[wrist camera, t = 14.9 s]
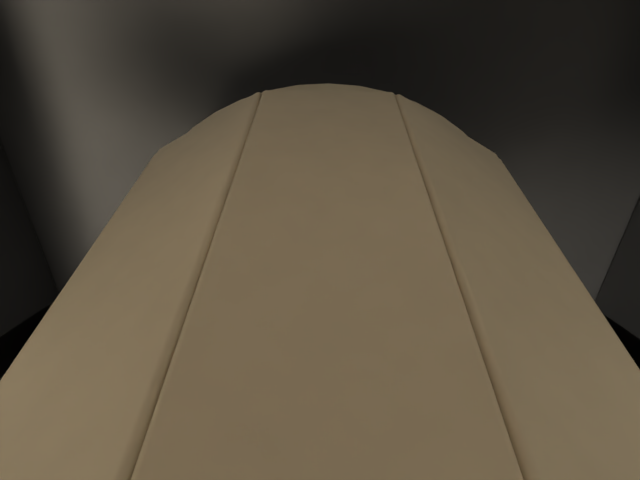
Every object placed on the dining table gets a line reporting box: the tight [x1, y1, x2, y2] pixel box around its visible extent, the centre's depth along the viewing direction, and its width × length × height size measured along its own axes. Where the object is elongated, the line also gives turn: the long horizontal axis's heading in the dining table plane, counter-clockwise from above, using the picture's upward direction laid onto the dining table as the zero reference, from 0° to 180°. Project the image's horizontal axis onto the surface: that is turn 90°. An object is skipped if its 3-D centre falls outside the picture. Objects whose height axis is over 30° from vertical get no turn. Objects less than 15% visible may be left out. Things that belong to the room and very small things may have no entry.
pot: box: [0, 83, 640, 480], centre depth 6 cm, size 7×7×6 cm
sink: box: [0, 0, 640, 339], centre depth 10 cm, size 16×11×4 cm
